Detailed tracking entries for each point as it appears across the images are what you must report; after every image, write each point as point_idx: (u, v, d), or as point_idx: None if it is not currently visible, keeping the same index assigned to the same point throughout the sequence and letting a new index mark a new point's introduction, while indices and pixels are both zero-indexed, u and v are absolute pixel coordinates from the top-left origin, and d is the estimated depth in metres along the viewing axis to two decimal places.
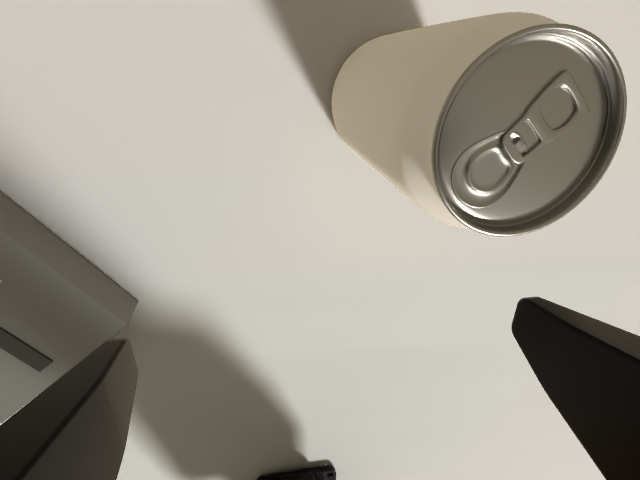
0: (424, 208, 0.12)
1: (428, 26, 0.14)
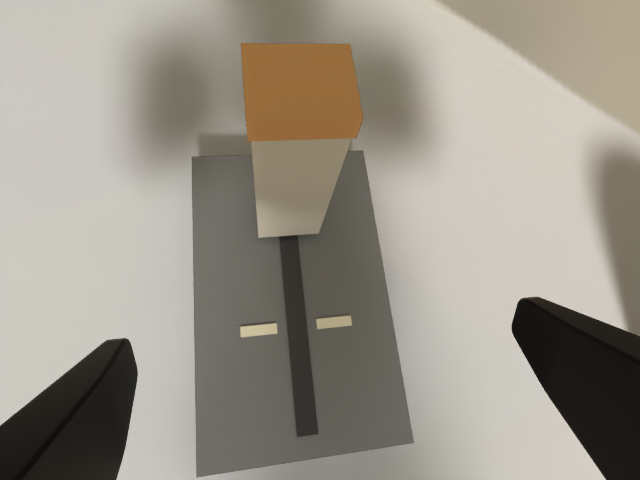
0: None
1: None
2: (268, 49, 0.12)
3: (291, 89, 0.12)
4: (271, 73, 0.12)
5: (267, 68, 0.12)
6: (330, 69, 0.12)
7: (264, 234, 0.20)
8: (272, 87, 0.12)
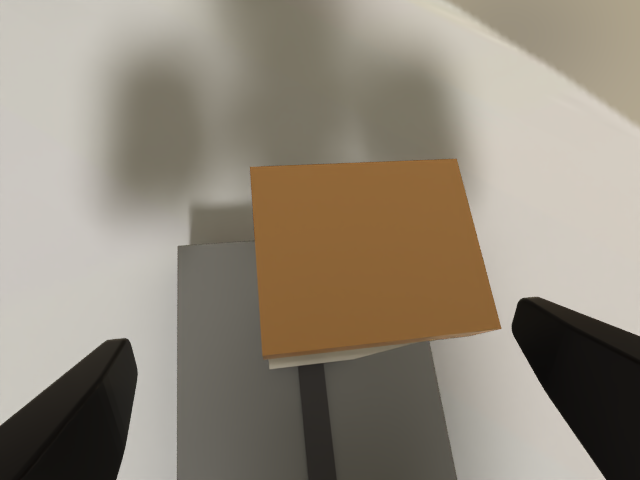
0: None
1: None
2: (304, 177, 0.06)
3: (351, 263, 0.06)
4: (312, 232, 0.06)
5: (303, 219, 0.06)
6: (425, 212, 0.06)
7: (278, 367, 0.14)
8: (313, 261, 0.06)
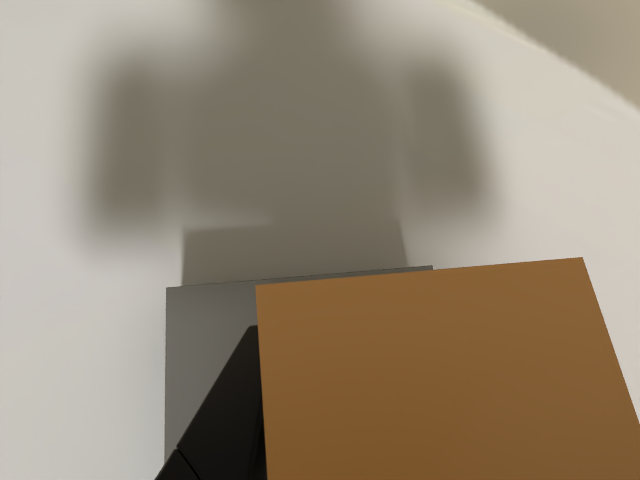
0: None
1: None
2: (345, 301, 0.04)
3: (430, 457, 0.03)
4: (362, 406, 0.03)
5: (346, 381, 0.03)
6: (540, 351, 0.04)
7: None
8: (364, 459, 0.03)
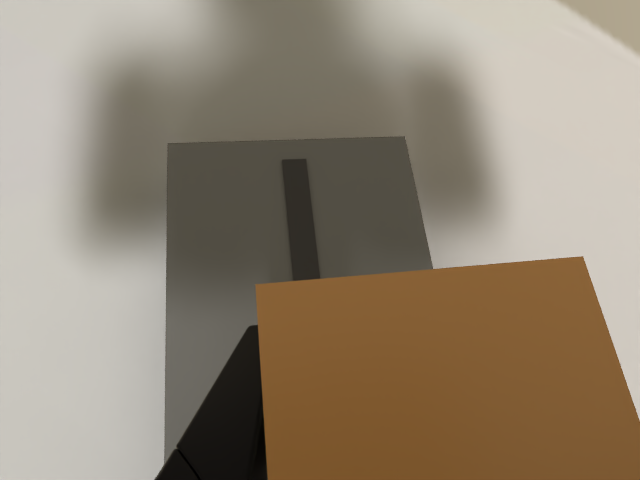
0: None
1: None
2: (346, 301, 0.04)
3: (430, 456, 0.03)
4: (362, 405, 0.03)
5: (347, 381, 0.03)
6: (540, 351, 0.04)
7: None
8: (366, 460, 0.03)
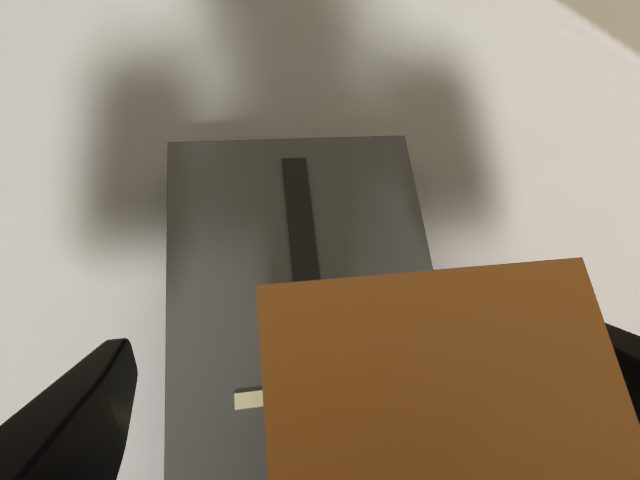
0: None
1: None
2: (346, 302, 0.04)
3: (430, 458, 0.03)
4: (362, 406, 0.03)
5: (346, 382, 0.03)
6: (540, 352, 0.04)
7: None
8: (366, 460, 0.03)
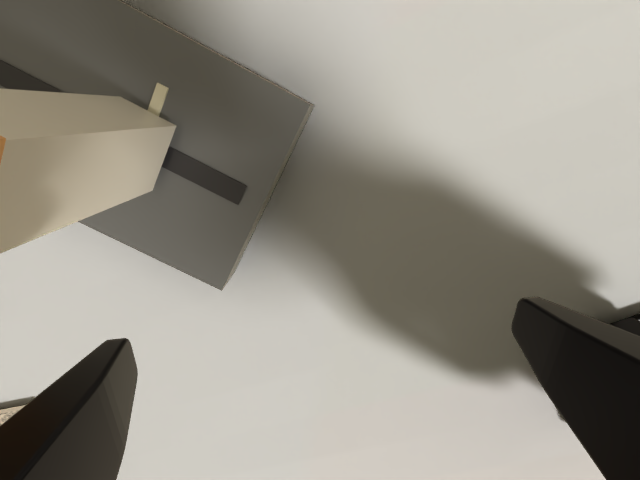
0: None
1: None
2: None
3: None
4: None
5: None
6: None
7: (149, 186, 0.17)
8: None
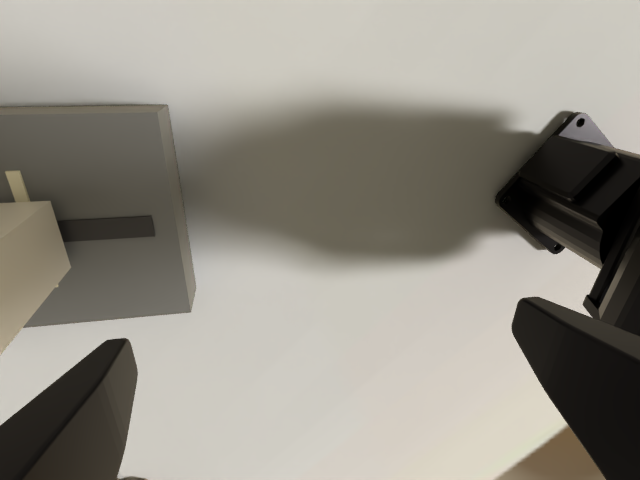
0: None
1: None
2: None
3: None
4: None
5: None
6: None
7: (64, 266, 0.17)
8: None
